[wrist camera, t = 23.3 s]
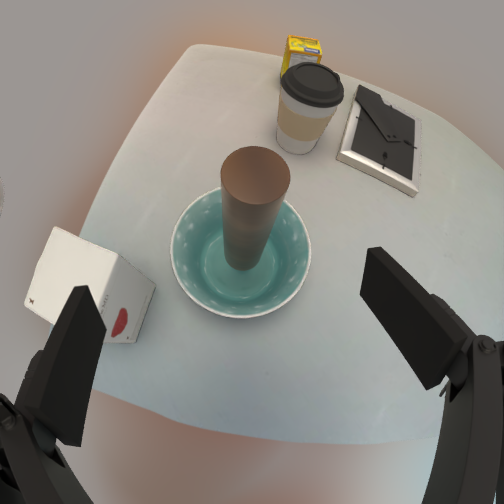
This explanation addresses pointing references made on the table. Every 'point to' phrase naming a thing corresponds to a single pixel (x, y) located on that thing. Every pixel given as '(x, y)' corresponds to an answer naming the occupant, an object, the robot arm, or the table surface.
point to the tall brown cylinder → (250, 202)
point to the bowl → (229, 279)
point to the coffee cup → (306, 105)
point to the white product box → (90, 284)
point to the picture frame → (383, 141)
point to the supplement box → (300, 52)
